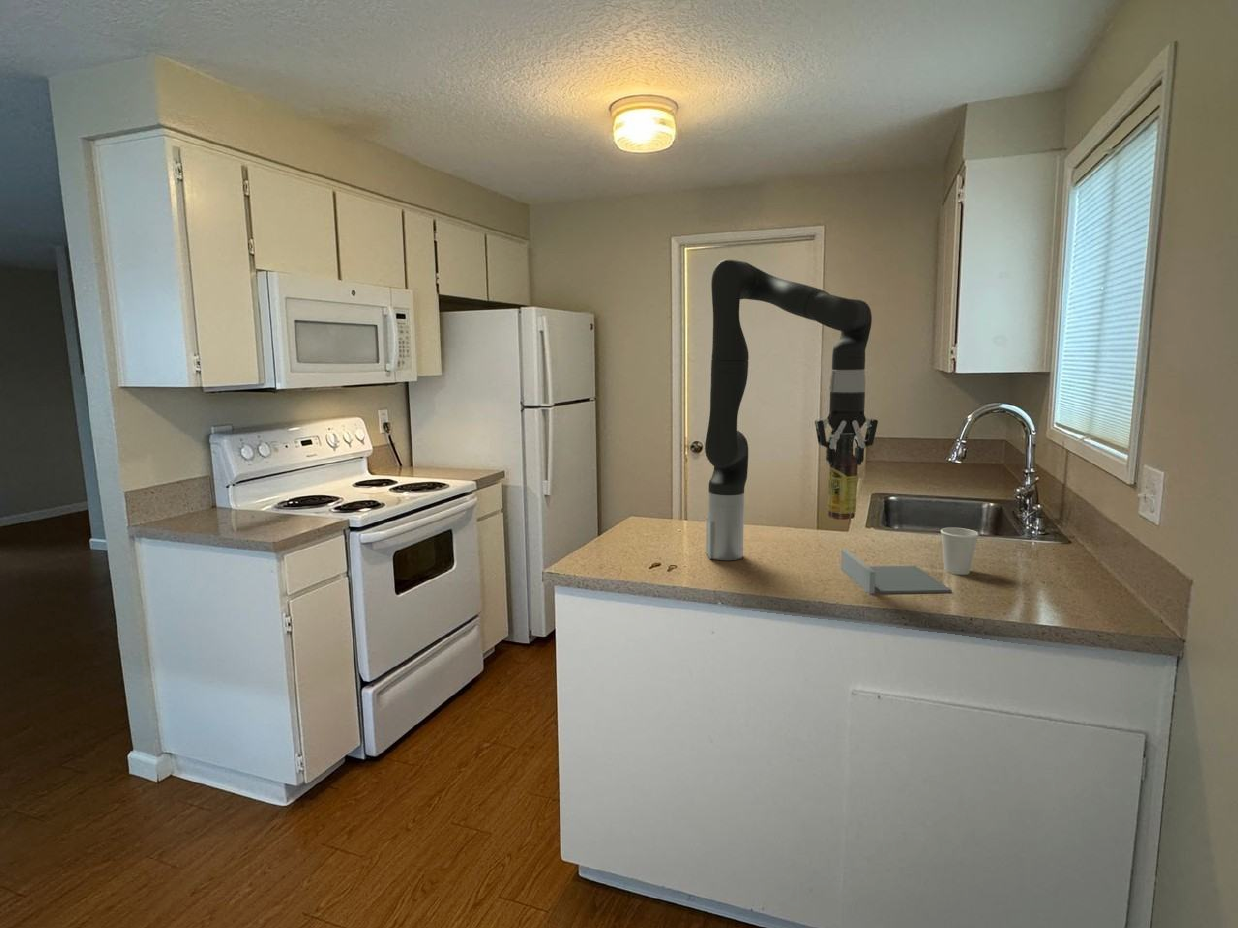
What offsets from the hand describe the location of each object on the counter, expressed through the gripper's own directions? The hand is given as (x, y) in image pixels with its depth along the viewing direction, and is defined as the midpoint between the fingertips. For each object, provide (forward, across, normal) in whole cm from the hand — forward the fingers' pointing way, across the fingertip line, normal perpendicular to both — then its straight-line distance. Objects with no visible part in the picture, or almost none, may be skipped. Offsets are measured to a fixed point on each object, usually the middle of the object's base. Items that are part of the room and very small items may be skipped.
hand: (844, 464), depth 161 cm
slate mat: (+28, +14, 0) cm, 31 cm away
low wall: (+28, +4, 0) cm, 28 cm away
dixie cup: (+28, +31, +7) cm, 42 cm away
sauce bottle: (+13, 0, 0) cm, 13 cm away
